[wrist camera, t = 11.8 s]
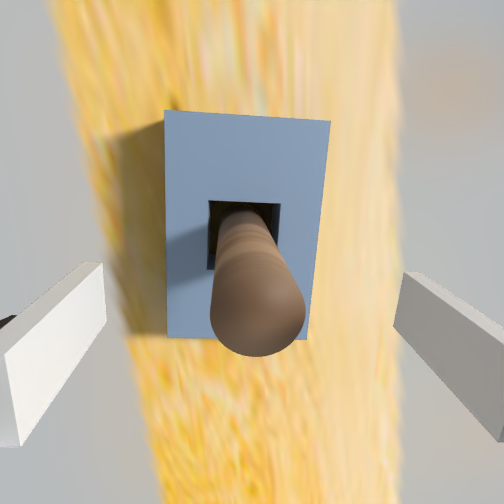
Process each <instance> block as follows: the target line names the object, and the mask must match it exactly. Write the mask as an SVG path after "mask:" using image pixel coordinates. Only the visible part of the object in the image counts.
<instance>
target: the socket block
mask: <svg viewBox="0 0 504 504" xmlns="http://www.w3.org/2000/svg"><path fill="white" fill-rule="evenodd" d="M330 124H331V121H324V120H309V119H294V118H279V117H264V116H249V115H234V114H219V113H203V112H188V111H173V110H164V130H165V204H166V278H167V338H214V339H218V338H217V337H216V335H215V333H214V331H213V329H212V326H211V322H210V306H211V297H212V288H213V279H214V270H215V261H216V254H210V211H211V200H215V201H237V202H259V203H273V211H272V225H271V236H272V238H273V240H274V242H275V244H276V246H277V248H278V249H279V251H280V253H281V255H282V257H283V259H284V261H285V263H286V265H287V267H288V268H289V270H290V272H291V274H292V276H293V278H294V280H295V282H296V284H297V286H298V287H299V289H300V291H301V293H302V296H303V298H304V302H305V307H306V316H305V321H304V324H303V327H302V329H301V331H300V333H299V335H298V336H297V337H296V339H295V340H307V332H308V322H309V313H310V304H311V295H312V286H313V277H314V268H315V259H316V250H317V241H318V232H319V223H320V214H321V205H322V196H323V187H324V178H325V169H326V160H327V151H328V142H329V133H330Z"/></svg>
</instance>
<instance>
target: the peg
mask: <svg viewBox="0 0 504 504" xmlns="http://www.w3.org/2000/svg"><path fill="white" fill-rule="evenodd" d="M305 316H306V307H305V302H304V298H303V296H302V293H301V291H300V289H299V287H298V286H297V284H296V282H295V280H294V278H293V276H292V274H291V272H290V270H289V268H288V267H287V265H286V263H285V261H284V259H283V257H282V255H281V253H280V251H279V249H278V248H277V246H276V244H275V242H274V240H273V238H272V236H271V234H270V232H269V230H268V228H267V227H266V225H265V223H264V221H263V219H262V217H261V215H260V214H259V212H258V211H257V210H256V209H255V208H253V207H251V206H249V205H246V204H237V205H234V206H231V207H230V208H228V209H227V210H226V211H225V212H224V213H223V215H222V217H221V219H220V224H219V233H218V242H217V251H216V261H215V270H214V279H213V288H212V297H211V306H210V322H211V326H212V329H213V331H214V333H215V335H216V337H217V338H218V340H219V341H220V342H221V343H222V344H223V345H224V346H226V347H227V348H228V349H230V350H231V351H233V352H236V353H238V354H241V355H245V356H251V357H262V356H268V355H271V354H274V353H277V352H279V351H281V350H283V349H284V348H286V347H287V346H288V345H290V344H291V343H292V342H293V341H294V340H295V339H296V337H297V336H298V335H299V333H300V331H301V329H302V327H303V324H304V321H305Z"/></svg>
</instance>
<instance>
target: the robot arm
mask: <svg viewBox="0 0 504 504" xmlns="http://www.w3.org/2000/svg"><path fill="white" fill-rule="evenodd" d="M106 322H107V316H106V303H105V290H104V277H103V263H102V262H83V263H81V264H80V265H79V266H78V267H77V268H75V269H74V270H73V271H72V272H70V273H69V274H68V275H67V276H66V277H64V278H63V279H62V280H60V281H59V282H58V283H57V284H56V285H54V286H53V287H52V288H51V289H49V290H48V291H47V292H46V293H45V294H43V295H42V296H41V297H40V298H39V299H37V300H36V301H35V302H34V303H32V304H31V305H30V306H29V307H27V308H26V309H25V310H24V311H22V312H21V313H20V314H19V315H11V316H9V317H7V318H5V319H2V320H0V447H21V446H22V444H23V443H24V441H25V440H26V439H27V437H28V436H29V434H30V433H31V431H32V430H33V428H34V427H35V426H36V424H37V423H38V421H39V420H40V418H41V417H42V415H43V414H44V412H45V411H46V409H47V408H48V407H49V405H50V404H51V402H52V400H53V399H54V398H55V396H56V395H57V393H58V392H59V391H60V389H61V388H62V386H63V384H64V383H65V382H66V380H67V379H68V377H69V376H70V374H71V373H72V371H73V370H74V369H75V367H76V366H77V364H78V363H79V361H80V360H81V358H82V357H83V355H84V354H85V353H86V351H87V349H88V348H89V347H90V345H91V344H92V342H93V341H94V339H95V338H96V337H97V335H98V334H99V332H100V331H101V329H102V328H103V326H104V325H105V323H106ZM393 327H394V328H395V329H396V330H397V331H398V333H399V334H400V335H401V336H402V337H403V338H404V339H405V340H406V341H407V342H408V344H409V345H410V346H411V347H412V348H413V349H414V350H415V351H416V352H417V353H418V355H419V356H420V357H421V358H422V359H423V360H424V361H425V362H426V363H427V365H428V366H429V367H430V368H431V369H432V370H433V371H434V372H435V373H436V375H437V376H438V377H439V378H440V379H441V380H442V381H443V382H444V383H445V384H446V385H447V387H448V388H449V389H450V390H451V391H452V392H453V393H454V394H455V395H456V397H457V398H458V399H459V400H460V401H461V402H462V403H463V404H464V405H465V407H466V408H467V409H468V410H469V411H470V412H471V413H472V414H473V415H474V417H475V418H476V419H477V420H478V421H479V422H480V423H481V424H482V425H483V426H484V428H485V429H486V430H487V431H488V432H489V433H490V434H491V435H492V436H493V438H495V440H496V441H497V442H504V328H503V327H502V326H500V325H499V324H497V323H495V322H494V321H493V320H491V319H489V318H488V317H487V316H485V315H483V314H482V313H480V312H479V311H477V310H476V309H475V308H473V307H472V306H470V305H469V304H467V303H466V302H464V301H463V300H461V299H459V298H458V297H457V296H455V295H453V294H452V293H450V292H449V291H447V290H446V289H444V288H443V287H442V286H440V285H439V284H437V283H436V282H434V281H433V280H431V279H430V278H428V277H427V276H425V275H423V274H422V273H421V272H404V274H403V280H402V285H401V290H400V295H399V300H398V305H397V310H396V315H395V320H394V325H393Z"/></svg>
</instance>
